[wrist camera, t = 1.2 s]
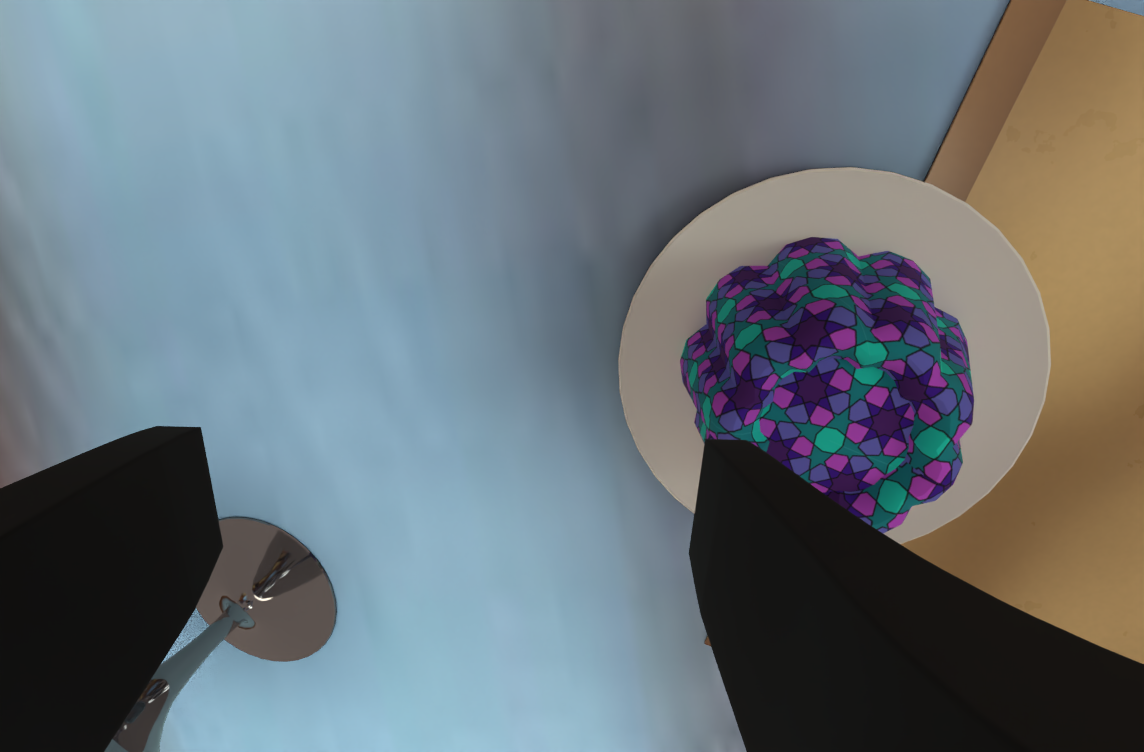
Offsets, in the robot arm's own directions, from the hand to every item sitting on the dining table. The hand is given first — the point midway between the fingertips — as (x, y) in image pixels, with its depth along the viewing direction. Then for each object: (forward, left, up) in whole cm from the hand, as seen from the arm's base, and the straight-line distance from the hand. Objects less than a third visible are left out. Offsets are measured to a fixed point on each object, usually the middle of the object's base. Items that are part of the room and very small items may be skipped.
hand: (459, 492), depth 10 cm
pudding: (-7, 0, -13) cm, 15 cm away
